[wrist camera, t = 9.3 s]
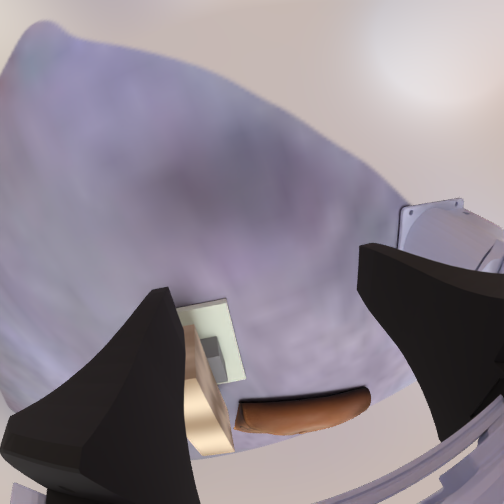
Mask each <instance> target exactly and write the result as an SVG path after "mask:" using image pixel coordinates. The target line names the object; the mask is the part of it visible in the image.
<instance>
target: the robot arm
mask: <svg viewBox="0 0 504 504" xmlns="http://www.w3.org/2000/svg"><path fill="white" fill-rule="evenodd" d="M463 205H464V201H463V199H462V198H456V199H450V200H443V201H437V202H432V203H425V204H419V205H413V206H407V207H404V208H403V209H402V210H401V218H400V232H399V243H398V249H396V248H393V247H389V246H386V245H382V244H377V243H369V244H365V245H360V246H359V266H358V281H357V291H358V293H359V295H360V296H361V298H362V300H363V302H364V303H365V305H366V306H367V308H368V310H369V311H370V312H371V313H372V315H373V316H374V317H375V319H376V320H377V321H378V322H379V324H380V325H381V326H382V327H383V329H384V330H385V331H386V332H387V334H388V335H389V336H390V337H391V339H392V340H393V341H394V343H395V344H396V345H397V346H398V348H399V349H400V351H401V352H402V354H403V355H404V357H405V359H406V360H407V362H408V364H409V366H410V367H411V369H412V371H413V373H414V375H415V377H416V379H417V381H418V383H419V384H420V387H421V389H422V391H423V393H424V396H425V398H426V401H427V403H428V406H429V408H430V411H431V414H432V417H433V420H434V423H435V426H436V429H437V433H438V437H439V440H440V441H441V443H440V444H439V445H437V446H436V447H434V448H433V449H431V450H429V451H428V452H426V453H425V454H423V455H421V456H420V457H418V458H417V459H415V460H413V461H411V462H410V463H408V464H406V465H404V466H402V467H400V468H399V469H397V470H395V471H393V472H391V473H389V474H387V475H385V476H383V477H381V478H379V479H377V480H374V481H372V482H370V483H368V484H365V485H363V486H361V487H358V488H356V489H353V490H351V491H348V492H346V493H343V494H340V495H337V496H335V497H332V498H329V499H326V500H323V501H319V502H316V503H313V504H377V503H379V502H381V501H383V500H385V499H387V498H389V497H391V496H393V495H395V494H397V493H399V492H400V491H403V490H405V489H406V488H408V487H410V486H411V485H413V484H415V483H417V482H418V481H420V480H422V479H423V478H425V477H426V476H428V475H430V474H431V473H432V472H434V471H436V470H437V469H439V468H440V467H442V466H443V465H444V464H446V463H447V462H449V461H450V460H451V459H453V458H454V457H455V456H457V455H458V454H459V453H461V452H462V451H463V450H465V449H466V448H467V447H468V446H470V445H471V444H472V443H473V442H474V441H475V440H477V439H478V438H479V439H478V445H477V448H476V449H475V450H473V451H472V452H471V453H470V454H469V455H467V456H466V457H465V458H464V459H463V460H461V461H460V462H459V463H458V464H456V465H455V466H453V467H452V468H451V469H449V470H448V471H447V472H445V473H444V474H442V475H441V476H440V478H439V480H440V482H441V483H442V485H443V488H441V489H440V490H438V491H437V492H435V493H434V494H432V495H430V496H429V497H427V498H426V499H424V500H423V501H421V502H419V503H417V504H504V230H503V229H502V228H501V227H500V226H498V225H496V224H494V223H492V222H490V221H488V220H486V219H484V218H483V217H480V216H478V215H476V214H474V213H472V212H470V211H468V210H466V209H464V208H463ZM410 210H411V211H410ZM409 212H410V213H409ZM185 361H186V350H185V337H184V329H183V326H182V324H181V321H180V318H179V316H178V313H177V310H176V308H175V305H174V302H173V299H172V296H171V294H170V291H169V288H168V287H164V288H159V289H154V290H151V292H150V293H149V294H148V295H147V296H146V297H145V299H144V300H143V301H142V302H141V304H140V305H139V306H138V307H137V309H136V310H135V311H134V312H133V314H132V315H131V316H130V317H129V319H128V320H127V321H126V322H125V324H124V325H123V326H122V327H121V328H120V330H119V331H118V332H117V333H116V334H115V335H114V336H113V338H112V339H111V340H110V341H109V342H108V343H107V345H106V346H105V347H104V348H103V349H102V350H101V351H100V352H99V353H98V354H97V355H96V356H95V357H94V358H93V359H92V360H91V361H90V362H89V363H88V364H86V365H85V366H84V367H83V368H82V369H81V370H79V371H78V372H77V373H76V374H75V375H73V376H72V377H71V378H70V379H69V380H67V381H66V382H65V383H64V384H62V385H61V386H60V387H58V388H57V389H55V390H54V391H53V392H51V393H50V394H48V395H47V396H45V397H44V398H42V399H41V400H39V401H37V402H36V403H34V404H32V405H30V406H29V407H27V408H25V409H23V410H21V411H19V412H18V413H16V414H14V415H12V416H10V418H9V420H8V423H7V426H6V430H5V433H4V436H3V439H2V442H1V446H0V454H1V455H2V457H3V458H4V459H5V460H6V461H7V462H8V463H9V464H10V465H12V466H13V467H14V468H16V469H17V470H19V471H20V472H21V473H23V474H24V475H26V476H28V477H29V478H31V479H32V480H34V481H35V482H37V483H39V484H40V485H42V486H44V487H46V488H47V495H44V494H41V493H39V492H37V491H35V490H32V489H30V488H27V487H25V486H22V485H20V484H18V483H13V487H12V494H11V501H10V504H200V500H199V496H198V493H197V489H196V485H195V480H194V476H193V471H192V466H191V461H190V455H189V449H188V443H187V435H186V427H185V418H184V386H185Z"/></svg>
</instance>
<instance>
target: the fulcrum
mask: <svg viewBox="0 0 504 504" xmlns="http://www.w3.org/2000/svg"><path fill="white" fill-rule="evenodd" d="M176 310H177V313H178V316H179V318H180V321H181V324H182V326H187V325H192V324H194V325H195V328H196V331H197V333H198V336H199V339H200V342H201V344H202V347H203V350H204V352H205V355H206V358H207V360H208V363H209V366H210V368H211V371H212V373H213V376H214V378H215V381H216V383H217V385H218V384H223V383H229V382H234V381H239V380H244V379H246V376H245V372H244V368H243V365H242V361H241V357H240V353H239V349H238V345H237V341H236V337H235V333H234V329H233V325H232V321H231V317H230V313H229V309H228V305H227V301H226V299H221V300H216V301H211V302H206V303H201V304H196V305H190V306H185V307H180V308H176Z"/></svg>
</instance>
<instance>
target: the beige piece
mask: <svg viewBox="0 0 504 504" xmlns="http://www.w3.org/2000/svg"><path fill="white" fill-rule="evenodd" d="M183 329H184V337H185V350H186V361H185V386H184V418H185V427H186V435H187V438H188V439H189V441H190V442H191V443H192V444H193V445H194V447H195V448H196V449H197V450H198V451H199V452H200V454H201V455H202V456H207V455H215V454H223V453H230V452H235V450H234V444H233V439H232V433H231V427H230V421H229V415H228V409H227V407H226V405H225V402H224V400H223V398H222V395H221V393H220V390H219V388H218V386H217V383H216V381H215V378H214V376H213V373H212V371H211V368H210V366H209V363H208V360H207V358H206V355H205V352H204V350H203V347H202V344H201V342H200V339H199V336H198V333H197V331H196V328H195V325H194V324H192V325H187V326H183Z"/></svg>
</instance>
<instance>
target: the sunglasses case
mask: <svg viewBox="0 0 504 504" xmlns="http://www.w3.org/2000/svg"><path fill="white" fill-rule="evenodd" d="M370 403H371V394H370V391H369V390H368V388H366V387H364V388H359V389H356V390H352V391H349V392H344V393H342V394H335V395H332V396H329V397H319V398H310V399H303V400H297V401H280V402H265V403H241V402H239V407H238V412H237V416H236V420H235V427H234V429H235V430H239V431H242V432H247V433H268V434H273V435H294V434H298V433H299V434H304V433H307V432H312V431H317V430H321V429H326V428H330V427H333V426H336V425H339V424H341V423H344V422H346V421H348V420H350V419H353V418H354V417H356V416H358V415H359V414H361V413H362V412H364V411H365V410H367V408H368V407H369V406H370Z"/></svg>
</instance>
